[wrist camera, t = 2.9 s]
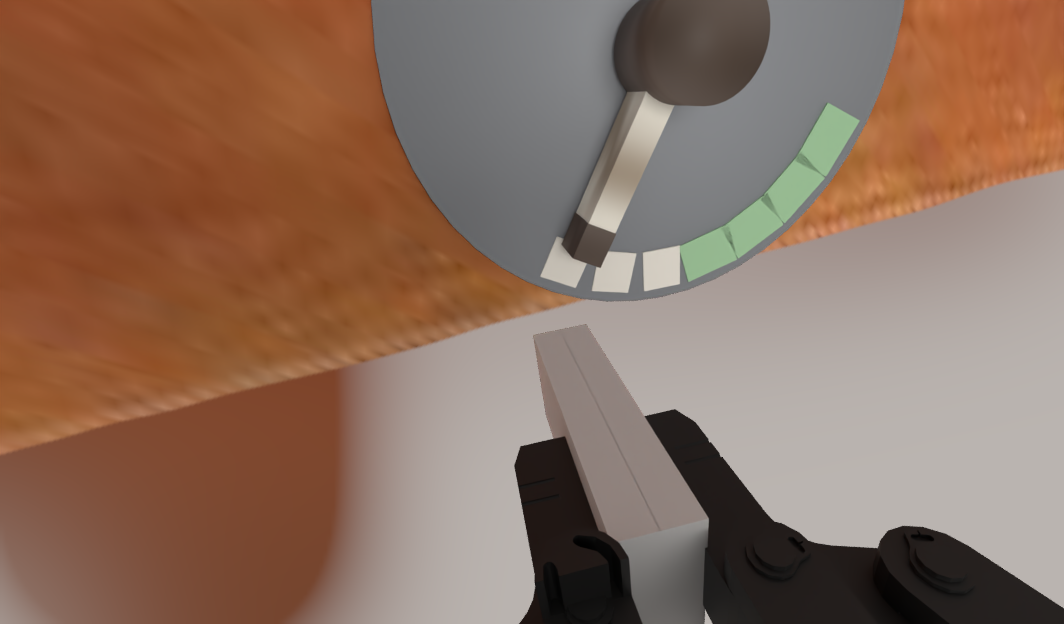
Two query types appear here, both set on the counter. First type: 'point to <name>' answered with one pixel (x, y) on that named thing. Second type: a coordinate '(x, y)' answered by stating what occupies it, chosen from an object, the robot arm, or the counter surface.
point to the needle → (664, 96)
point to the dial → (587, 119)
